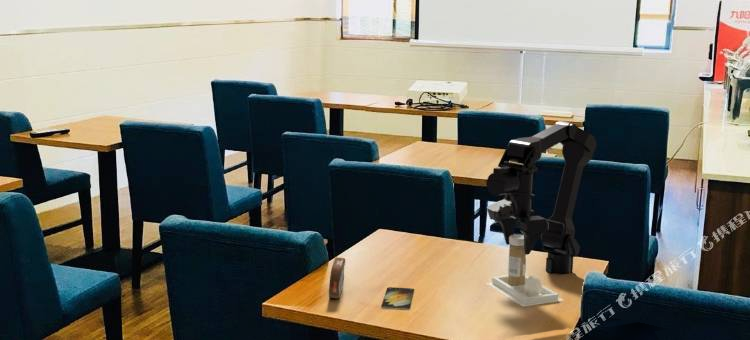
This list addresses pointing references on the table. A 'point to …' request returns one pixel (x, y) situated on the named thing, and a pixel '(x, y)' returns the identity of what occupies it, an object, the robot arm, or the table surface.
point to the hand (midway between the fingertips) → (517, 249)
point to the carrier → (523, 292)
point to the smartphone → (398, 298)
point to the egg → (533, 286)
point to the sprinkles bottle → (516, 261)
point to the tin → (336, 278)
